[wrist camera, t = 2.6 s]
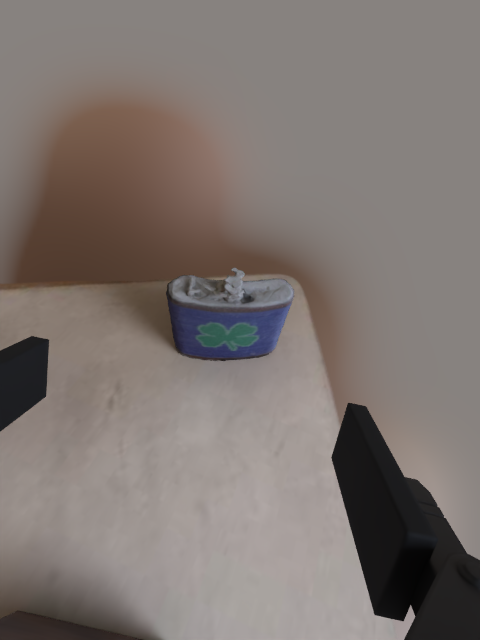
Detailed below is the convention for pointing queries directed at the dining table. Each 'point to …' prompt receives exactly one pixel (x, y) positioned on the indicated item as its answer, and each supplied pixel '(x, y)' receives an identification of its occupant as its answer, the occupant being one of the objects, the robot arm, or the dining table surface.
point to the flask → (227, 316)
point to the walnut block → (49, 629)
